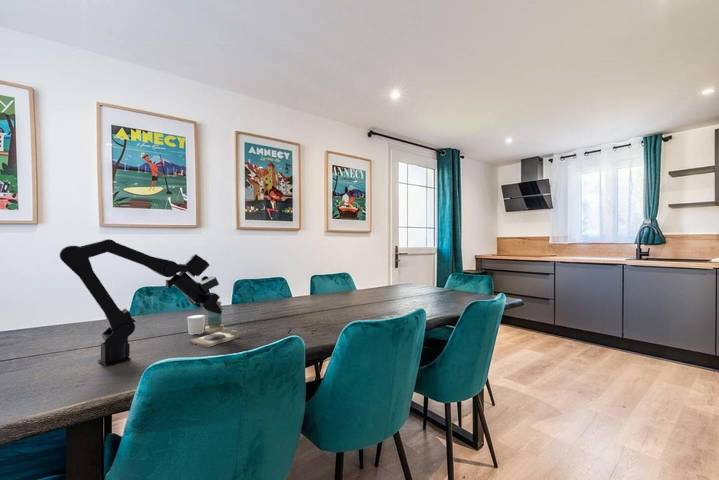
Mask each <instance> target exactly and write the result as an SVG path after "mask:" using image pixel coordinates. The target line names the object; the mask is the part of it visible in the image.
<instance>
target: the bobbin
mask: <svg viewBox="0 0 719 480" xmlns="http://www.w3.org/2000/svg"><path fill="white" fill-rule="evenodd" d="M216 303H217V305H218V306H219V308H220V309H221V311H222V313H221V314H218V313H214V312H211V311H208V310H207V325H206V326H204V332H207V333H218V332H220V331H221V330H223V329H224V328H225V325H224V324H222V315H223V308H222V307H223V306H222V301H220V300H219V299H218V300H217V301H216Z"/></svg>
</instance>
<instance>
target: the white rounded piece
mask: <svg viewBox="0 0 719 480" xmlns="http://www.w3.org/2000/svg"><path fill="white" fill-rule="evenodd" d="M186 318H187V329H188V330H187V331H188V335H189V334H190V336H195V335H194V334H199V335H201V333H202V334H204V333H203V332H205V325H206V324H205V323H206V315H205V314H191V315H189V316H187V317H186Z"/></svg>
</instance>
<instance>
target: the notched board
mask: <svg viewBox="0 0 719 480" xmlns="http://www.w3.org/2000/svg"><path fill="white" fill-rule="evenodd" d="M235 339H239V330H235V329H231V330H230V331H229V332H228V328H226V327H224V329H223V330H221V331H217V332H213V333H211V334H207V335H204V336H201V337H196V338H192V339H190V340H189V344H192V343H193V344H192V345H195V344H197V345H196V346H199V347H204V348H209V347H212V346H215V345H219V344H223V343H225V342H228V341H231V340H235Z"/></svg>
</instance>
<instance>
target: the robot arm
mask: <svg viewBox="0 0 719 480" xmlns="http://www.w3.org/2000/svg"><path fill="white" fill-rule="evenodd" d="M105 253H109V254H112V255H115V256H118V257H120V258H124V259H125V260H129V261H131V262H133V263H137V264H139V265H142V266H145V268H147V269H150V270H151V271H153V273H156V274H158V275H159V276H162V277H164V278H170V279H165V287H166V288H168V289H170V288H172V286H174V287H175V288H176V289H177V290H179V291H180V292H181V293H182V295H184V296H185V297H186V300H187V302H188V303H190V304H192V305H194V306H195V307H198V308H201V309H203V310H205V311H207V312H208V311H211V312H214V313H218V314H221V313H222V314H223V310H222V311H221V309H220V308H219V306H218V305H217V303H216V301H217V300H218V301H219V299H220V298H221V297H220V295H218V294H217V293H215V292H210V290H211V289H213V288H215V287H217V286H219V285H220V284H219V281H218V279H217V277H216V276H212V275H211V276H207V275H204V276H201V275H202V274H203V273H204V272H205V271H206V270H207V269H208V268H209V267H210V266H211V265H210V264H209V262H208V261H207V260H205V259H204V258H202V257H201V256H199V255H198V254H196V253H194V254H192V255H191V256H190V258H189V259H188V260H187V261H186V262H185V263H177V262H176V261H173V260H169V259H165V258H160V257H157V256H156V257H155V256H152V255H149V254H146V253H144V252H141V251H139V250H136V249H134V248H131V247H130V246H129V247H128V246H127V245H124V244H121V243H119V242H116V241H115V240H113V239H109V238H108V239H105V238H104V239H103V240H100V241H97V242H92V243H88V244H85V245H80V246H79V245H67V246H65V247H63V248H62V249H61V250H60V252H59V258H60V260H61V261H62V262H63V263H64V264H65V265H66V266H67V267H68V268H69V269H70V270H71V271H72V272H73V273H74V274H75V275H76V276H78V278H79V279H80V281H82V283H83V285H84V286H85V288H86V289H87V290H88V292H89V293H90V294H91V296H92V297H93V299H94V300H95V301H96V303H97V305H98V306H99V307H100V309H101V310H102V312H103V313H104V316H105V319H106V322H107V324H108V326H109V327H108V328H107V329H106V330H104V332H103V333H101V338H102V339H103V341H104V342H101V343H100V359H99V360H97V363H99V364H102V365H103V366H107V367H109V366H113V365H116V364H119V363H122V362H123V363H124V362H126V361H129V360H131V357H130V354H131V353H130V351H131V350H130V347H131V344H130V342H129V337H130V336H131V335H132V334H133V333H134V332H135V330H136V324H135V322H137V320H135V319H134V317H132V315H131V313H130V311H129V309H127V308H123V309H122V310H121V309H120V308H119V307H118V305H117V304H116V302H115V300H114V299H113V298H112V297H111V295H110V293H109V291H108V290H107V288H105V286H104V285H103V283H102V282H101V279H99V277H98V275H97V274H96V273H95V271H94V270H93V267H92V264H91V261H90V258H94V257H96V256H99V255H102V254H105ZM195 276H196V277H198V278H199V277H200V276H201V281H199V282H197V281H196V280H195V279H193V278H195Z"/></svg>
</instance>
